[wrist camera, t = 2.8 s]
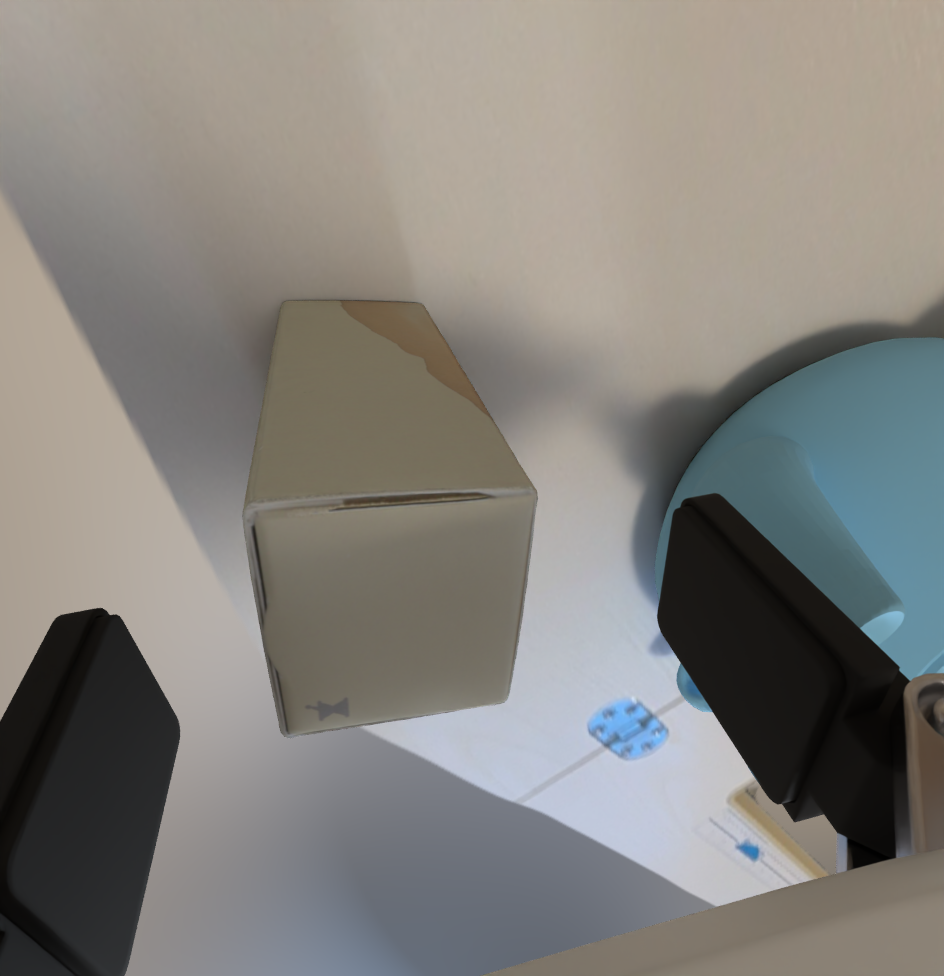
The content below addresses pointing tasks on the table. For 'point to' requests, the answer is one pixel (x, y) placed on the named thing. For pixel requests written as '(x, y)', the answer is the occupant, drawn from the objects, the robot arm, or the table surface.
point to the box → (381, 523)
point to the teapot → (844, 490)
